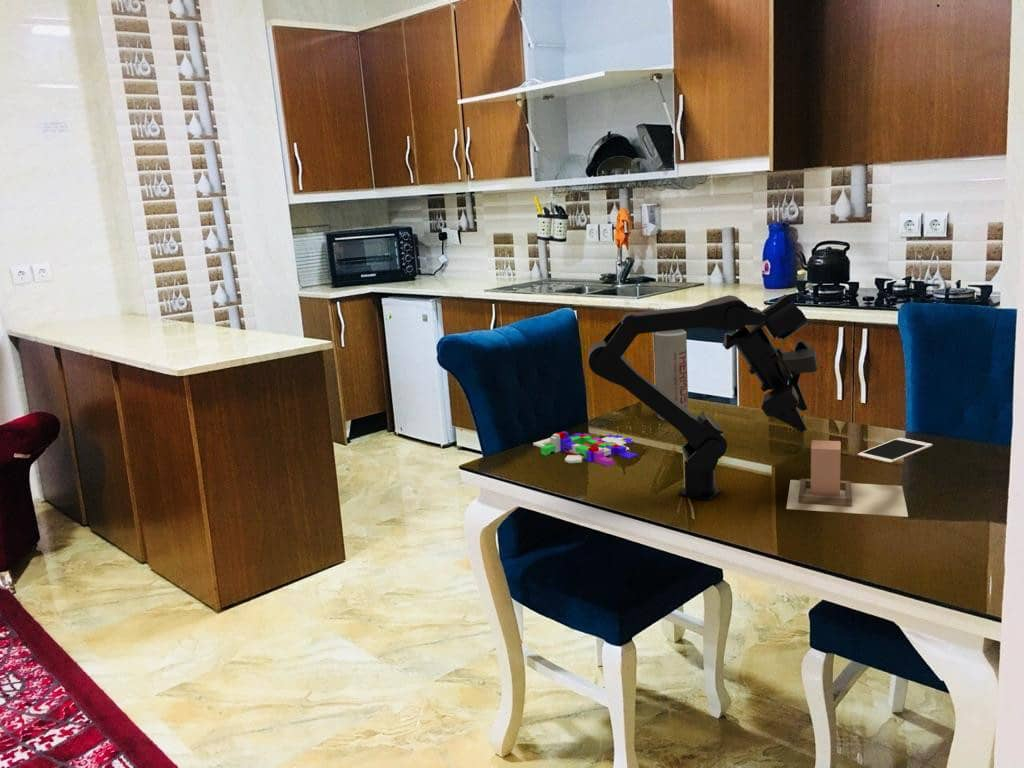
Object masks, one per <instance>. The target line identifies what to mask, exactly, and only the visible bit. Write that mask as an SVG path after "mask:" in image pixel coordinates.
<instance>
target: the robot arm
mask: <svg viewBox="0 0 1024 768" xmlns="http://www.w3.org/2000/svg"><path fill="white" fill-rule="evenodd" d="M808 324H809V321H808V319H807V317H806V315H805V314H804V312H803V311H802V310H801V309H799V307H798V306H797V305H796V303H795V302H794V301H793V300H792V299H791V297H790V296H789V295H788V294H783V295H782V296H780V297H779V298H778V299H777V300H776V301H775V302H773V303H772V304H770V305H768V306H767V307H765V308H764V309H763V310H760V309H759V308H757V307H752V306H749V305H748V304H747V303H746V302H744V301H743V300H742V299H741V298H739V297H737V296H736V295H732V294H731V295H725V296H721V297H718V298H714V299H710V300H708V301H706V302H703V303H701V304H697V305H691V306H690V305H689V306H683V307H675V308H674V307H673V308H665V309H657V310H646V311H638V312H637V311H629V312H626V313H625V314H623V316H622V317H621V319H620V320H619V322H617V324H616V325H615V326H614V327H613V328H612V329H611V330H609V332H608V333H607V334H606V335H605V337H604V338H603V339H602V340H598V341H596V342H594V343H593V344H592V345H591V346H590V348H589V351H588V366H589V369H590V370H591V372H592V373H593V374H595V375H596V376H597V377H600V378H601V379H604V380H605V381H608V382H609V383H612V384H615V385H617V386H620V387H622V388H624V389H625V390H626V391H628V392H629V393H630V394H631V395H633V396H634V397H635V398H636V399H637V400H639V401H640V402H642V403H643V404H644V405H645V406H647V407H648V408H649V409H651V411H653V412H655V414H656V415H657V414H658V415H659V416H661V417H662V418H663V419H665V420H666V421H665V422H667V423H669V424H670V425H671V426H672V427H674V429H676V430H677V431H679V432H680V434H681V435H682V437H684V439H685V440H686V441H687V442H686V443H685V444H684V445H682V447H681V450H682V453H683V455H684V458H685V461H684V481H685V482H684V488H683V489H681V490H679V491H678V493H677V494H678V496H682V497H687V498H692V499H698V500H701V501H702V500H703V501H710V500H711V499H712V498H714V497H716V495H718V494H719V493H720V492H722V491H723V488H722V487H720V486H716V473H715V472H716V468H717V465H718V463H719V459H721V458H722V457H723V456H724V455H725V453H726V452H727V448H728V442H727V440H726V438H725V436H724V435H723V433H724V431H723V429H722V428H721V426H720V423H719V422H718V421H716V420H713V419H711V418H710V417H709V416H708V414H707V413H705V412H704V411H703V410H702V411H701V412H700V413H699V415H696V414H694V413H692V412H689V410H688V411H687V410H685V409H684V408H683V407H682V406H680V405H679V404H678V403H676V402H675V401H674V400H673V399H671V398H670V397H669V396H668V395H666V394H665V393H664V392H663V391H661V390H660V389H659V388H657V387H656V384H654V383H653V382H651V381H650V380H648V379H647V378H646V377H645V376H643V375H642V374H641V373H640V372H638V370H636V369H635V368H634V367H633V365H632V363H630V362H629V360H628V359H627V358H626V357H625V355H624V354H625V352H627V350H628V349H629V347H630V345H631V344H632V342H633V341H634V340H635V339H636V337H637V336H638V335H640V334H641V335H642V334H649V333H651V334H652V333H655V332H661V331H670V330H679V329H683V330H686V329H694V328H700V329H701V328H703V329H710V330H711V329H712V330H719V331H720V330H721V331H734V332H733V333H728V332H725V333H724V339H723V342H722V346H723V347H724V349H725V350H730V349H731V348H733V347H734V346H735V348H736V349H737V351H739V353H740V354H741V356H742V358H743V360H745V362H746V364H747V366H748V367H749V368H748V371H749V373H750V374H751V376H753V375H755V377H756V378H757V379H758V381H759V383H760V389H761V391H762V392H763V393H764V394H763V398H762V401H761V410H762V412H763V413H764V415H765V416H766V417H770V418H772V417H773V418H774V419H777V420H778V421H781V422H783V423H785V424H787V425H789V426H790V427H792V428H794V429H795V430H797V431H799V432H801V433H803V432H805V431H807V426H806V424H805V421H804V419H803V417H802V415H801V412H804V411H807V410H808V406H807V404H806V400H805V397H804V394H803V391H802V389H801V386H800V384H799V381H800V377H801V374H806V373H809V374H811V373H812V374H813V373H815V372H817V371H818V365H819V364H818V360H817V359H818V357H817V353H816V350H815V349H816V348H815V347H813V346H812V345H811V346H810V345H809V344H808V342H807V341H805V340H797V341H796V343H795V346H794V349H790V350H789V351H787V352H783V350H782V349H781V348H780V347H778V346H776V347H775V346H774V344H773V343H772V341H771V340H770V339H769V337H768V336H767V334H766V332H765V330H766V331H767V333H768V334H769V336H770V337H771V338H772V339H773V340H775V339H777V340H781V341H783V340H785V339H787V338H788V337H790V336H792V335H793V334H794V333H796V332H798V331H799V330H801V329H802V328H804V327H805V326H806V325H808ZM746 326H748V327H746ZM763 327H764V328H765V330H763ZM768 390H770V391H769V392H767V391H768ZM765 392H767V393H765ZM799 410H800V411H801V412H800V411H799Z"/></svg>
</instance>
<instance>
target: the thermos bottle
mask: <svg viewBox="0 0 1024 768" xmlns="http://www.w3.org/2000/svg"><path fill="white" fill-rule="evenodd" d="M653 335H654V336H653V337H654V338H653V339H654V340H653V341H654V363H655V386H656V387H657V388H659V389H660V390H661V391H663V392H664V393H665V394H666V395H668V396H669V397H670V398H671V399H673V400H674V401H675V402H676V403H678V404H679V405H680V406H682V407H683V408H684V409H685V410H687V411H688V412H689V388H688V387H689V385H688V384H689V383H688V348H687V347H688V345H687V331H685V329H679V330H670V331H661V332H653ZM657 417H658V418H659V419H662V420H661V421H663V420H665V419H663V418H662V417H661V416H659V415H658V414H657V413H656V418H657ZM658 418H657V419H658ZM659 419H658V420H659Z"/></svg>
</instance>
